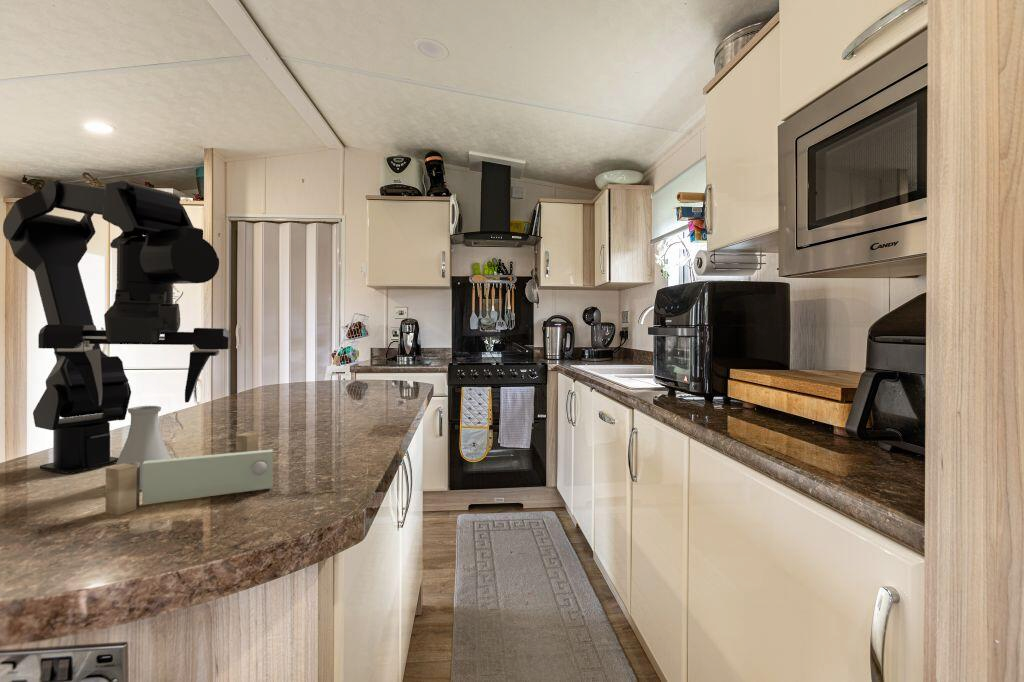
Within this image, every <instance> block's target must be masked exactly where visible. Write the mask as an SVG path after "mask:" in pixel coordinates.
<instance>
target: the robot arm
mask: <svg viewBox="0 0 1024 682" xmlns="http://www.w3.org/2000/svg"><path fill="white" fill-rule="evenodd" d="M54 209H60V210H65V211H70V212H74V213H80V214H83V216H82V218H81V219H80V221H79V220H76V219H75V218H71V217H66V216H65V217H64V216H59V215H54V214H49V213H51V212H52V211H54ZM95 214H96V215H100V216H102V217H101V218H102V219H103V220H104V221H106V222H107V223H109V224H111V225H114V226H115V227H118V228H119V229H120V230H121V234H120V235H118V236H117V237H115V238H113V239H112V241H111V242H110V245H109V246H110V248H112V249H115V250H116V289H115V294H114V301H113V304H112V305H111V306H110V307H109V308H108V310H107V311H105V313H104V314H103V318H104V328H105V330H103V329H102V330H101V329H97V327H96V325H95V323H94V319H93V316H92V313H91V308H90V305H89V302H88V298H87V294H86V290H85V287H84V284H83V283H84V282H83V279H82V276H81V272H80V268H79V263H80V261H81V260H82V259H83V257H84V255H86V253H87V251H88V244H89V243H90V241H91V240H92V238H93V237H94V235H95V234H96V229H95V226H94V223H93V220H92V217H93V215H95ZM2 223H3V224H2V232H3V236H4V238H5V239H6V240H8V243H9V245H10V248H11V250H12V254H13V256H14V257H15V258H16V259H18V260H19V261H20V262H21V263H22V264H24V265H25V266H26V267H28V269H30V270H31V271H33V273H34V276H35V277H34V278H35V280H36V285H37V288H38V291H39V296H40V300H41V304H42V307H43V312H44V315H45V319H46V320H45V321H46V323H47V324H45V325H44V326H43V327H41V328H40V329H39V332H38V340H37V341H38V349H53V354H54V356H55V359H56V363H55V364H54V366H53V368H52V369H51V371H50V373H49V374H48V376H47V377H46V379H45V386H46V388H45V390H44V392H43V394H42V396H41V397H40V399H39V401H38V402H37V404H36V406H35V407H34V409H33V412H32V416H33V417H32V418H33V421H34V426H35V428H38V429H44V430H49V431H53V432H52V433H53V452H52V453H53V457H52V458H53V459H52V461H53V462H49V463H45V464H40V465H39V469H40V470H42V471H43V470H44V471H49V472H50V471H51V472H55V473H62V474H67V475H68V474H76V473H79V472H83V471H88V470H92V469H96V468H100V467H103V466H108V465H112V464H116V463H117V461H118V458H119V457H115V456H111V433H110V432H111V430H110V429H111V427H110V426H111V424H110V422H114V421H124V420H126V416H127V412H128V409H129V408H128V407H129V404H130V399H131V395H132V390H131V386H130V383H129V378H128V377H127V375H126V373H125V369H124V365H123V364H124V363H123V361H122V359H121V358H120V357H119V356H116V355H115V356H109V355H107V354H106V353H105V352H103V351H102V348H101V345H152V346H154V345H169V346H170V345H171V346H172V345H174V346H175V345H177V346H179V345H180V346H181V345H182V346H192V348H194V350H192V351H190V352H189V363H188V370H187V376H186V382H185V388H184V402H185V403H189V402H190V400H191V398H192V395H193V394H194V391H195V388H196V385H197V382H198V380H199V379H200V375H201V373H202V372H203V369H204V367H205V365H206V364H207V362H208V360H209V359H210V357H216V356H218V355H220V350H229V349H230V347H231V332H230V331H229V330H228V329H227V328H226V327H225V328H223V327H222V328H220V327H219V328H218V327H194V328H193V331H179V329H180V327H181V312H180V311H181V310H180V304H179V303H174V300H173V299H174V285H175V284H178V285H179V284H183V285H184V284H185V285H186V284H204V283H207V282H209V281H211V280H212V279H214V277H215V276H216V275H217V274H218V270H219V267H220V258H219V256H218V253H217V252H216V250H215V248H214V247H213V246H212V244H211V243H210V242H208V240H206V239H204V230H203V228H198V227H195V226H194V225H193V223H192V221H191V219H190V216H189V214H188V213H187V211H186V209H185V207H184V205H183V204H181V198H180V197H179V196H178V195H177V194H176V193H172V192H169V191H165V190H161V189H157V188H155V187H151V186H146V185H143V184H138V183H134V182H132V181H127V180H123V179H122V180H121V179H120V180H114V181H110V182H106V183H105V186H104V187H102V186H94V185H93V186H92V185H86V184H81V183H74V182H72V181H66V180H62V179H47V181H46V182H45V183H44V185H43V187H41V189H40V190H39V191H36V192H34V193H31V194H29V195H25V196H24V197H22V198H19V199H16V200H15V201H14V203H13V205H12V206H11V208H10V209H9V211H8V212H7V214H6V216H5V217H4V220H3V222H2ZM161 335H164V336H161Z"/></svg>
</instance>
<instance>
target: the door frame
mask: <svg viewBox="0 0 1024 682" xmlns="http://www.w3.org/2000/svg"><path fill="white" fill-rule="evenodd" d="M249 451H259V433H255V432H250V431H249V432H244V433H243V432H242V433H238V434H236V435H235V453H238V452H249ZM140 491H141V490H140V462H133V463H130V464H125V463H123V464H119V465H116V464H115V465H112V466H107V467H105V514H109V515H110V514H111V515H116V516H120V515H123V514H126V513H130V512H132V511H135V510H137V508H138V507H139V506H140V503H141V501H140V495H141V494H140Z"/></svg>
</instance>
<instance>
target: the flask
mask: <svg viewBox="0 0 1024 682" xmlns="http://www.w3.org/2000/svg"><path fill="white" fill-rule="evenodd" d="M161 410H162V406H159V405H140V406H133V407H130V408H128V409H127V412H128V414H130V425H129V431H128V435H127V438H126V441H125V443H124V445H123V447H122V450H121V451H120V455H119V456H118V457H117V458H118V461H117V463H115V465H119V464H123V463H125V464H130V463H133V462H140V491H142V467H143V463H144V461H149V460H160V459H171V458H172V457H171V454H170V452H169V451H168V448H167V446H166V444H165V441H164V439H163V437H162V433H161V429H160V424H159V412H160V411H161Z"/></svg>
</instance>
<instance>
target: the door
mask: <svg viewBox="0 0 1024 682" xmlns="http://www.w3.org/2000/svg"><path fill="white" fill-rule="evenodd" d="M273 467H274V449H273V448H272V449H263V450H258V451H249V452H238V453H236V452H230V453H229V452H227V453H218V454H217V453H216V454H209V455H208V454H207V455H194V456H186V457H184V456H183V457H176V458H175V457H173V458H172V457H171V459H160V460H149V461H144V463H143V467H142V490H141V494H142V495H141V496H142V497H141V503H142V505H149V504H157V503H158V504H159V503H164V502H172V501H181V500H189V499H196V498H204V497H211V496H219V495H228V494H236V493H237V494H238V493H243V492H250V491H252V492H253V491H260V490H268V489H273V488H274V487H273V485H274V484H273V481H274V480H273V476H274V468H273Z"/></svg>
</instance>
